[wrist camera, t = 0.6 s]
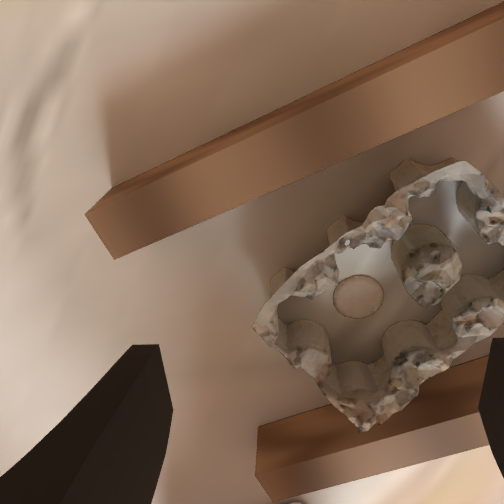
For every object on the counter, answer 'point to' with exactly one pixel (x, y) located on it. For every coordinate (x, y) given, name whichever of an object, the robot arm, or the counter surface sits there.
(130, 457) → the robot arm
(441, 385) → the chute
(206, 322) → the counter surface
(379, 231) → the egg carton
